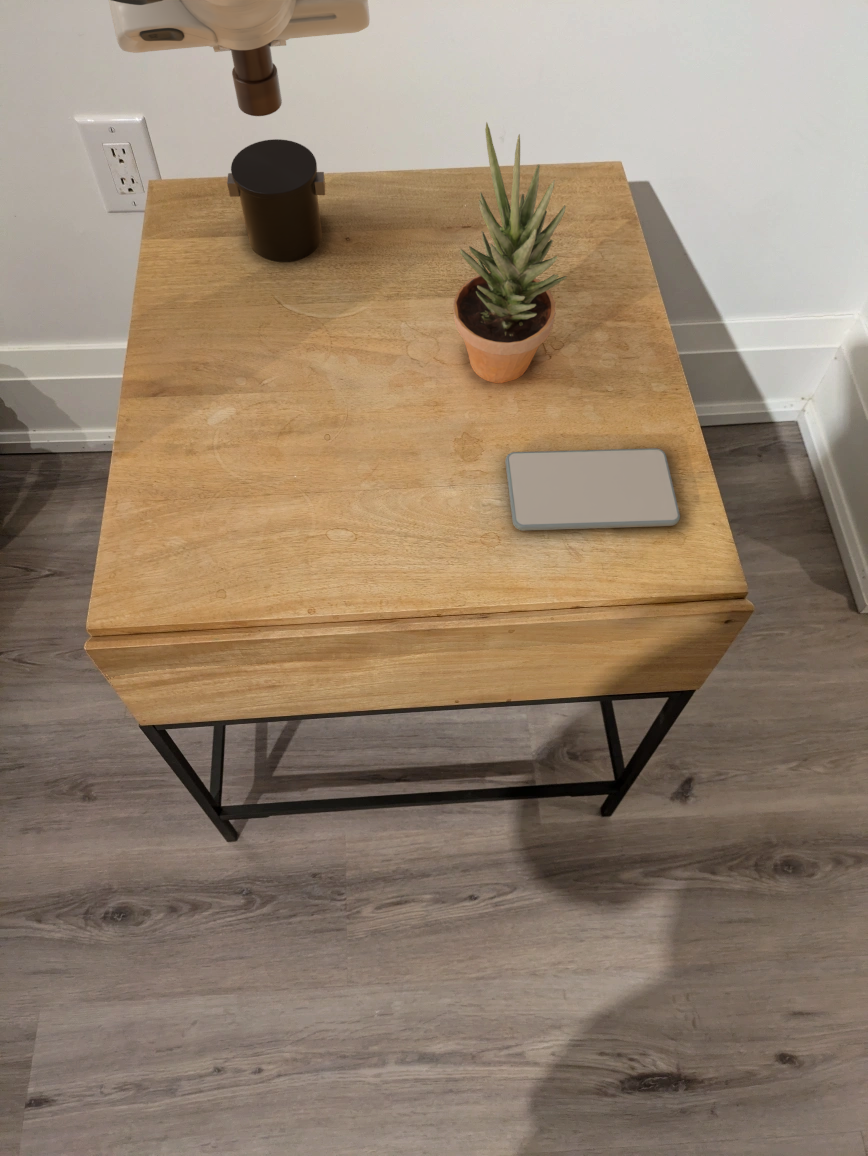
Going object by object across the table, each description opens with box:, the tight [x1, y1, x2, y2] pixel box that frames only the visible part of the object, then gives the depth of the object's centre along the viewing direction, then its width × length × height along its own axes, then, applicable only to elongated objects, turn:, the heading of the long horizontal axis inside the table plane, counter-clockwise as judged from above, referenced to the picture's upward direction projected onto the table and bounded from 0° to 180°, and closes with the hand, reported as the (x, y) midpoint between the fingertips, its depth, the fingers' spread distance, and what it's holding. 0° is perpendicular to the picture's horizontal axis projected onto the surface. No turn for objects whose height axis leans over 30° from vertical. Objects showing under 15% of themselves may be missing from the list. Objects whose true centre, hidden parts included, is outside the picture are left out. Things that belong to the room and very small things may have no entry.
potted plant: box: [453, 121, 568, 384], centre depth 74 cm, size 10×10×25 cm
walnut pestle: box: [230, 43, 283, 117], centre depth 74 cm, size 4×4×10 cm
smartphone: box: [504, 447, 681, 531], centre depth 77 cm, size 8×1×15 cm
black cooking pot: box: [226, 138, 326, 263], centre depth 89 cm, size 10×9×9 cm
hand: (248, 38), depth 74 cm, fingers closed on walnut pestle, 3 cm apart
